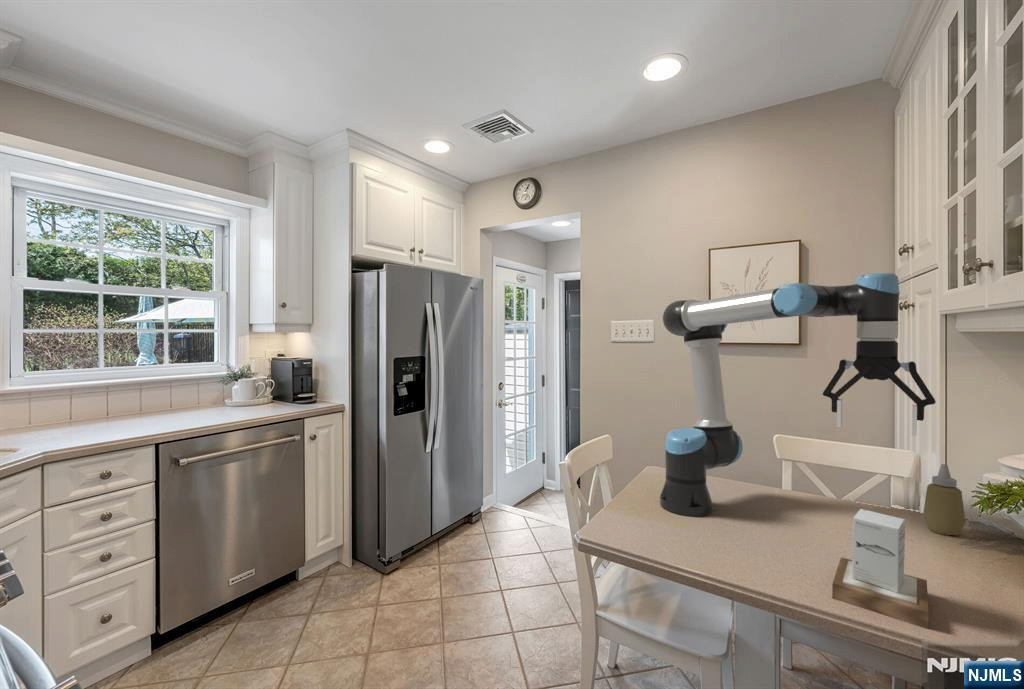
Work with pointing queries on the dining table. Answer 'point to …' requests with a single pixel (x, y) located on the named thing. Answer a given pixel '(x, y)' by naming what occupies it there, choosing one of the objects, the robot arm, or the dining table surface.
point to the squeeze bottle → (944, 504)
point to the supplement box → (878, 549)
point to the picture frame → (883, 595)
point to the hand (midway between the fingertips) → (875, 430)
